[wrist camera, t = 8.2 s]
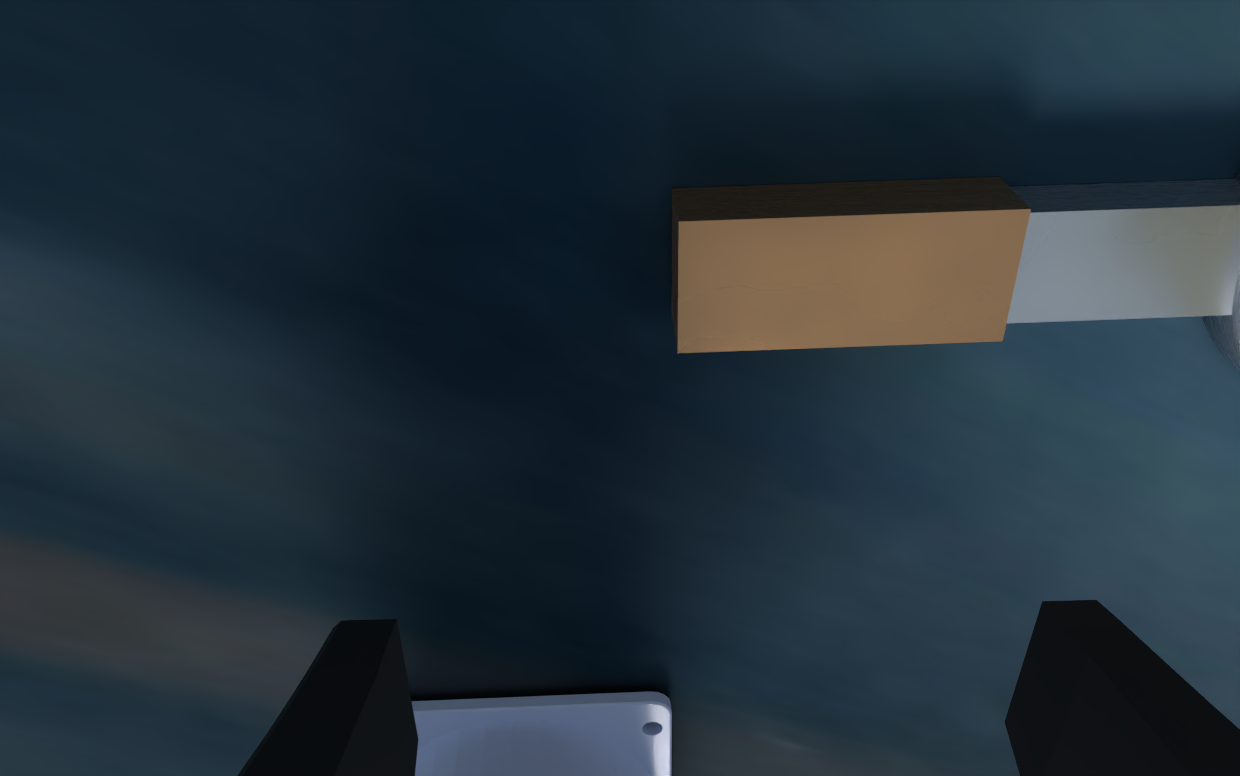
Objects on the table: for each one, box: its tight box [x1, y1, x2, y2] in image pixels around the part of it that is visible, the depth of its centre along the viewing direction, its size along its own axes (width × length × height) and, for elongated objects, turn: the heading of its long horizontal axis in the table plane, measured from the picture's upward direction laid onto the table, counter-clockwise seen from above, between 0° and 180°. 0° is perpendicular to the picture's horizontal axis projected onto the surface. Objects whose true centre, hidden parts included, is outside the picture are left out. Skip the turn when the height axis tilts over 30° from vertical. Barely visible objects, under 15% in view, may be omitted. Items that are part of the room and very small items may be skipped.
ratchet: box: [671, 170, 1240, 371], centre depth 17 cm, size 18×8×5 cm, turn 91°
